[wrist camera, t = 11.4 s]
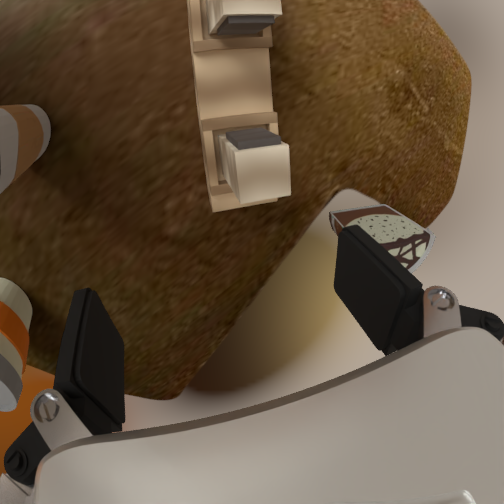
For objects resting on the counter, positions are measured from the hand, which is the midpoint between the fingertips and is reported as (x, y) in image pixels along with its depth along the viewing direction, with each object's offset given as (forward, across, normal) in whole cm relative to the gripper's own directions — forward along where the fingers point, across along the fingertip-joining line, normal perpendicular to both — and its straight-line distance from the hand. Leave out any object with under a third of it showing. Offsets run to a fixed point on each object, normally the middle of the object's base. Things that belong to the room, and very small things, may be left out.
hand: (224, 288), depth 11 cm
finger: (+20, -5, 0) cm, 20 cm away
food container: (+22, -21, +14) cm, 33 cm away
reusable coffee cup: (+23, +31, +13) cm, 40 cm away
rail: (+22, -6, -6) cm, 24 cm away
